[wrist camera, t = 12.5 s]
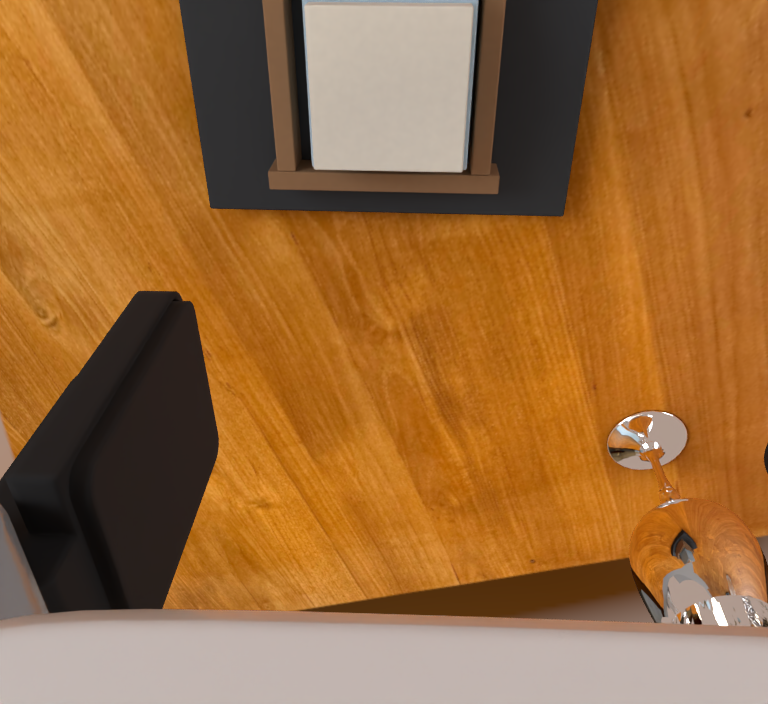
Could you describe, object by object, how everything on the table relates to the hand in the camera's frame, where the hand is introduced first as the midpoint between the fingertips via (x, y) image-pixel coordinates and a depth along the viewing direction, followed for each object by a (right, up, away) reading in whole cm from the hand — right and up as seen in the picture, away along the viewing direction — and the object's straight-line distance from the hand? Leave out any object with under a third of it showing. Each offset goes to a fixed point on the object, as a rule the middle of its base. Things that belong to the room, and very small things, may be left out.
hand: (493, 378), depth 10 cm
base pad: (-2, +12, +18) cm, 22 cm away
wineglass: (+13, -5, +28) cm, 32 cm away
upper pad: (-1, +12, +17) cm, 20 cm away
